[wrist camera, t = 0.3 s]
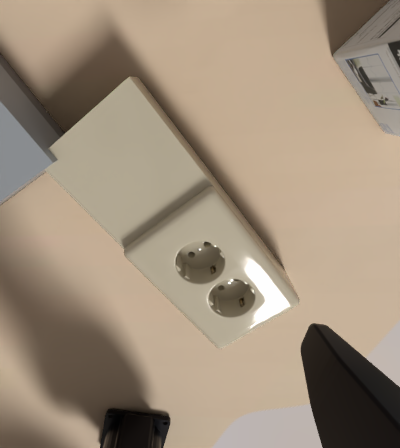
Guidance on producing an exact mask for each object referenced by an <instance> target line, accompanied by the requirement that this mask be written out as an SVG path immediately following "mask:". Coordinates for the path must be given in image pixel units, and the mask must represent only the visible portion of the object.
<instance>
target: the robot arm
mask: <svg viewBox="0 0 400 448" xmlns="http://www.w3.org/2000/svg"><path fill="white" fill-rule="evenodd" d="M301 356H302V361H303V367H304V372H305V378H306V383H307V389H308V394H309V399H310V404H311V408H312V412H313V416H314V419H315V423H316V426H317V430H318V433H319V437H320V440H321V443H322V447H323V448H400V387H399V386H398V385H396V384H395V383H394V382H393V381H392V380H390V379H389V378H388V377H387V376H386V375H385V374H383V373H382V372H381V371H380V370H379V369H378V368H376V367H375V366H374V365H373V364H372V363H370V362H369V361H368V360H367V359H366V358H365V357H363V356H362V355H361V354H360V353H359V352H358V351H356V350H355V349H354V348H353V347H352V346H350V345H349V344H348V343H347V342H346V341H345V340H343V339H342V338H341V337H340V336H339V335H337V334H336V333H335V332H334V331H333V330H332V329H330V328H329V327H328V326H326V325H323V324H315V323H313V324H311V325H310V326H309V328H308V330H307V333H306V335H305V337H304V339H303V342H302V344H301ZM169 426H170V418H169V417H167V416H160V415H152V414H144V413H136V412H129V411H121V410H113V409H109V410H107V412H106V415H105V421H104V427H103V433H102V439H101V445H100V448H163V446H164V443H165V440H166V436H167V433H168V429H169Z"/></svg>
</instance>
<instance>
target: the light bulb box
mask: <svg viewBox="0 0 400 448" xmlns="http://www.w3.org/2000/svg"><path fill="white" fill-rule="evenodd" d="M333 58H334V59H335V61H336V62H337V64H338V65H339V67H340V68H341V70H342V71H343V73H344V74H345V76H346V77H347V79H348V80H349V82H350V83H351V85H352V86H353V88H354V89H355V91H356V92H357V93H358V95H359V96H360V98H361V99H362V101H363V102H364V104H365V105H366V107H367V108H368V110H369V111H370V112H371V114H372V115H373V117H374V118H375V120H376V121H377V123H378V124H379V126H380V127H381V129H382V130H383V131H384V132H385V133H387V134H391V135H396V136H400V0H390V1H389V2H388V3H387V4H386V5H385V6H384V7H382V8H381V9H380V10H379V11H378V12H377V13H376V14H375V15H374V16H373V17H372V18H371V19H370V20H369V21H368V22H367V23H366V24H365V25H363V26H362V27H361V28H360V29H359V30H358V31H357V32H356V33H355V34H354V35H353V36H352V37H351V38H350V39H349V40H347V41H346V42H345V43H344V44H343V45H342V46H341V47H340V48H339V49H338V50H337V51H336V52H335V53H334V54H333Z"/></svg>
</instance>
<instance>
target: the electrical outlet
mask: <svg viewBox="0 0 400 448" xmlns="http://www.w3.org/2000/svg"><path fill="white" fill-rule="evenodd" d="M48 149H49V150H50V151H51V152H52V154H53V155H54V156H55V157H56V158H57V161H56V162H55V163H53V164H52V165H51V166H49V167H48V168H46V169H45V171H46V172H47V173H48V174H49V175H50V176H51V177H52V178H53V179H54V180H55V181H56V182H57V183H58V184H59V185H60V186H61V187H62V188H63V189H64V190H65V191H66V192H67V193H68V194H69V195H70V196H71V197H72V198H73V199H74V200H75V201H76V202H77V203H78V204H79V205H80V206H81V207H82V208H83V209H84V210H85V211H86V212H87V213H88V214H89V215H90V216H91V217H92V218H93V219H94V220H95V221H96V222H97V223H98V224H99V225H100V226H101V227H102V228H103V229H104V230H105V231H106V232H107V233H108V234H109V235H110V236H111V237H112V238H113V239H114V240H115V241H116V242H117V243H118V244H119V245H120V246H121V247H122V248H123V249H124V255H125V257H126V258H127V259H128V260H129V261H130V262H131V263H132V264H133V265H134V266H135V267H136V268H137V269H138V270H139V271H140V272H141V273H142V274H143V275H144V276H145V277H146V278H147V279H148V280H149V281H150V282H151V283H152V284H153V285H154V286H155V287H156V288H157V289H158V290H159V291H160V292H161V293H162V294H163V295H164V296H165V297H166V298H167V299H168V300H169V301H170V302H171V303H172V304H173V305H174V306H175V307H176V308H177V309H178V310H179V311H180V312H181V313H182V314H183V315H184V316H185V317H186V318H187V319H189V320H190V321H191V322H192V323H193V324H194V325H195V326H196V327H197V328H198V329H199V330H200V331H201V332H202V333H203V334H204V335H205V336H206V337H207V338H208V339H209V340H210V341H211V342H212V343H213V344H214V345H215V346H216V347H217V348H219V349H222V348H224V347H226V346H228V345H230V344H231V343H233V342H235V341H237V340H238V339H240V338H242V337H243V336H245V335H247V334H249V333H250V332H252V331H254V330H256V329H257V328H259V327H261V326H263V325H264V324H266V323H268V322H270V321H271V320H273V319H275V318H277V317H278V316H280V315H282V314H284V313H285V312H287V311H289V310H290V309H292V308H294V307H296V306H297V305H298V304H299V301H300V299H299V297H298V295H297V293H296V291H295V289H294V287H293V285H292V283H291V281H290V279H289V277H288V275H287V273H286V271H285V270H284V268H283V267H282V266H281V264H280V263H279V262H278V260H277V259H276V258H275V256H274V255H273V254H272V253H271V251H270V250H269V249H268V247H267V246H266V245H265V243H264V242H263V241H262V239H261V238H260V237H259V235H258V234H257V233H256V232H255V230H254V229H253V228H252V226H251V225H250V224H249V222H248V221H247V220H246V218H245V217H244V216H243V214H242V213H241V212H240V211H239V209H238V208H237V207H236V205H235V204H234V203H233V201H232V200H231V199H230V197H229V196H228V195H227V193H226V192H225V191H224V190H223V188H222V187H221V186H220V184H219V183H218V182H217V180H216V179H215V178H214V176H213V175H212V174H211V172H210V171H209V170H208V169H207V167H206V166H205V165H204V163H203V162H202V161H201V159H200V158H199V157H198V155H197V154H196V153H195V151H194V150H193V149H192V148H191V146H190V145H189V144H188V142H187V141H186V140H185V138H184V137H183V136H182V134H181V133H180V132H179V130H178V129H177V128H176V127H175V125H174V124H173V123H172V121H171V120H170V119H169V117H168V116H167V115H166V113H165V112H164V111H163V109H162V108H161V107H160V105H159V104H158V103H157V102H156V100H155V99H154V98H153V96H152V95H151V94H150V92H149V91H148V90H147V88H146V87H145V86H144V84H143V83H142V82H141V81H140V79H139V78H138V77H128V78H127V79H126V80H125V81H123V82H122V83H121V84H120V85H119V86H118V87H117V88H116V89H114V90H113V91H112V92H111V93H110V94H109V95H108V96H107V97H105V98H104V99H103V100H102V101H101V102H100V103H99V104H98V105H97V106H95V107H94V108H93V109H92V110H91V111H90V112H89V113H88V114H86V115H85V116H84V117H83V118H82V119H81V120H80V121H79V122H77V123H76V124H75V125H74V126H73V127H72V128H71V129H70V130H69V131H67V132H66V133H65V134H64V135H63V136H62V137H61V138H60V139H58V140H57V141H56V142H55V143H54V144H53V145H52V146H51V147H49V148H48Z"/></svg>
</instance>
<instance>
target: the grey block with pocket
mask: <svg viewBox="0 0 400 448" xmlns="http://www.w3.org/2000/svg"><path fill="white" fill-rule="evenodd" d="M64 134H65V133H64V132H63V131H62V130H61V128H60V127H59V126H58V125H57V123H56V122H55V121H54V120H53V118H52V117H51V116H50V115H49V113H48V112H47V111H46V110H45V108H44V107H43V106H42V105H41V104H40V102H39V101H38V100H37V99H36V97H35V96H34V95H33V94H32V92H31V91H30V90H29V89H28V87H27V86H26V85H25V84H24V82H23V81H22V80H21V79H20V78H19V76H18V75H17V74H16V73H15V71H14V70H13V69H12V68H11V66H10V65H9V64H8V63H7V61H6V60H5V59H4V58H3V56H2V55H1V54H0V205H1V204H3V203H4V202H6V201H7V200H8V199H10V198H11V197H12V196H14V195H15V194H17V193H18V192H19V191H21V190H22V189H23V188H25V187H26V186H27V185H29V184H30V183H32V182H33V181H34V180H36V179H37V178H38V177H40V176H41V175H43V174H44V173H45V172H46V171H45V169H46V168H48V167H49V166H51V165H52V164H53V163H55V162H56V161H57V158H56V157H55V156H54V155H53V154H52V152H51V151H50V150H49V149H48V148H49V147H51V146H52V145H53V144H54V143H55V142H56V141H57V140H58V139H60V138H61V137H62V136H63V135H64Z"/></svg>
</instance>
